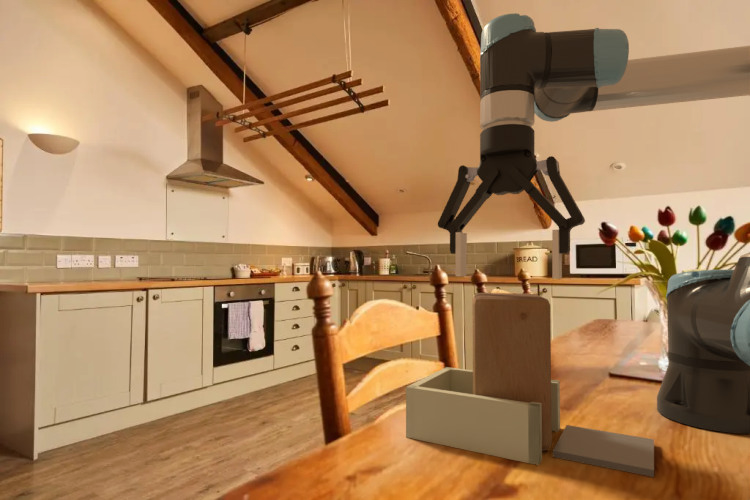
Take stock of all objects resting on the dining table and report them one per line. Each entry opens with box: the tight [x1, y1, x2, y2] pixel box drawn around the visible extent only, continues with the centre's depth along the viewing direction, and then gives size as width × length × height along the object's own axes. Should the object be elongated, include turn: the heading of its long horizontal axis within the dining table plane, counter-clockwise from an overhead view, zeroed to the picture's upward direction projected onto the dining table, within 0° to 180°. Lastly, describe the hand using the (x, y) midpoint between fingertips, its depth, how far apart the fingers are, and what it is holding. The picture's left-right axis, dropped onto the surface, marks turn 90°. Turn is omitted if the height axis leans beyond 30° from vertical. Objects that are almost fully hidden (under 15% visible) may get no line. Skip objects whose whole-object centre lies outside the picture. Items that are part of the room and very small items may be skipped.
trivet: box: [552, 424, 655, 478], centre depth 61 cm, size 11×11×1 cm
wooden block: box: [472, 292, 553, 452], centre depth 66 cm, size 10×10×20 cm
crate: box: [405, 366, 561, 466], centre depth 68 cm, size 18×15×7 cm
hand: (506, 277), depth 67 cm, fingers open, 13 cm apart
